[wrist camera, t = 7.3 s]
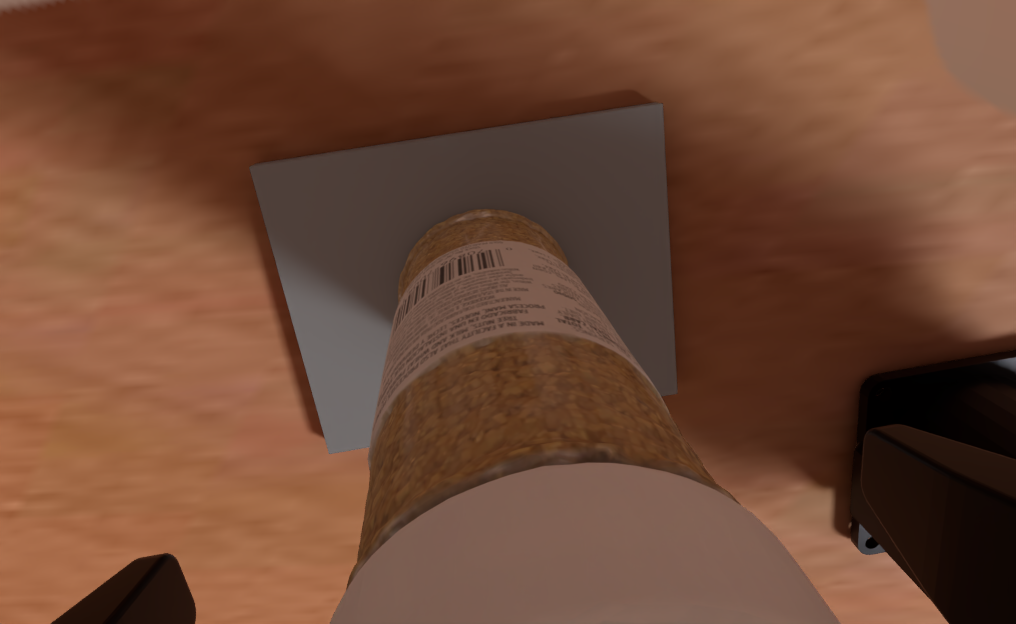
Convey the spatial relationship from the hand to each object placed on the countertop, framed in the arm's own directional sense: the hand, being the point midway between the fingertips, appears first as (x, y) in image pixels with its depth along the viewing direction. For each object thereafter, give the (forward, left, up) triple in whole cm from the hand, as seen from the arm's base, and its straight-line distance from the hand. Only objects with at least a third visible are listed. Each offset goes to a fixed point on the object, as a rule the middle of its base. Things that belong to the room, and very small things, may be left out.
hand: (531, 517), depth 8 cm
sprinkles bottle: (0, 0, -9) cm, 9 cm away
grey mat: (0, 0, -10) cm, 10 cm away
